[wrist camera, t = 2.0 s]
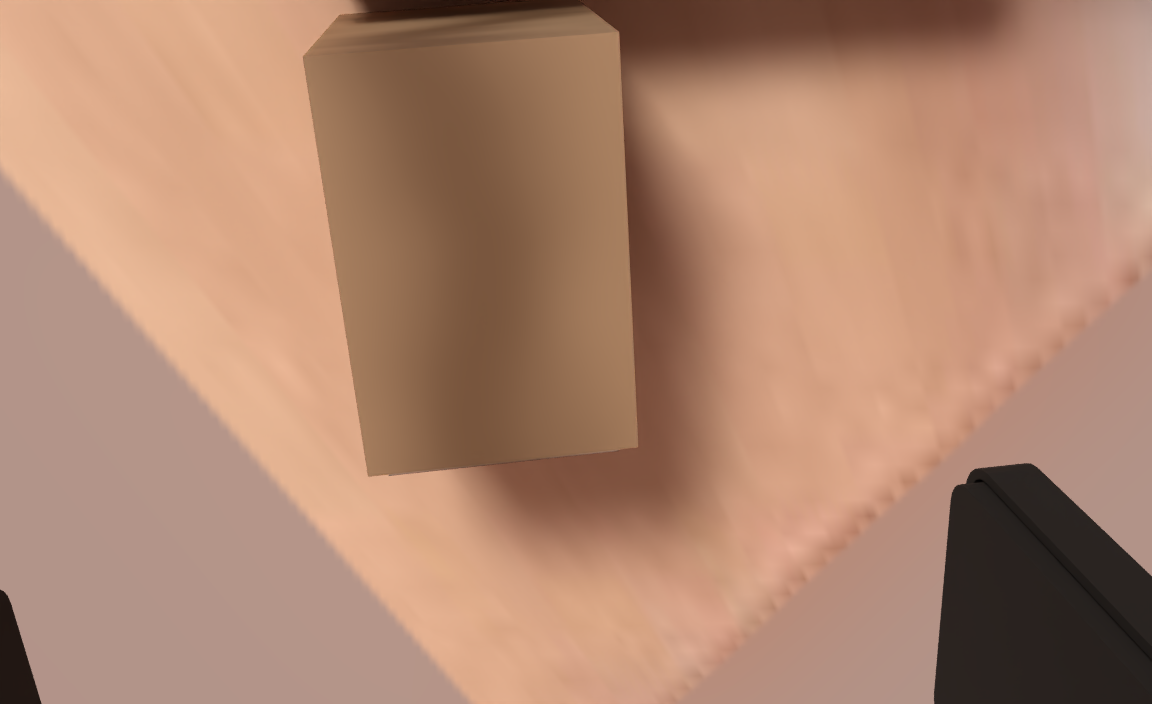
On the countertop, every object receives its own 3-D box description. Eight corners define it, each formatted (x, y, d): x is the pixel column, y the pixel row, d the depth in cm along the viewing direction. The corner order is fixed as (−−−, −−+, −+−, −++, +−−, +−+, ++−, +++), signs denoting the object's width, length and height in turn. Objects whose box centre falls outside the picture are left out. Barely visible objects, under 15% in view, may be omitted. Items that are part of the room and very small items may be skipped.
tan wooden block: (574, -4, 28) (618, 31, 21) (595, 344, 32) (639, 476, 25) (340, 14, 28) (303, 56, 21) (389, 365, 32) (372, 506, 24)
